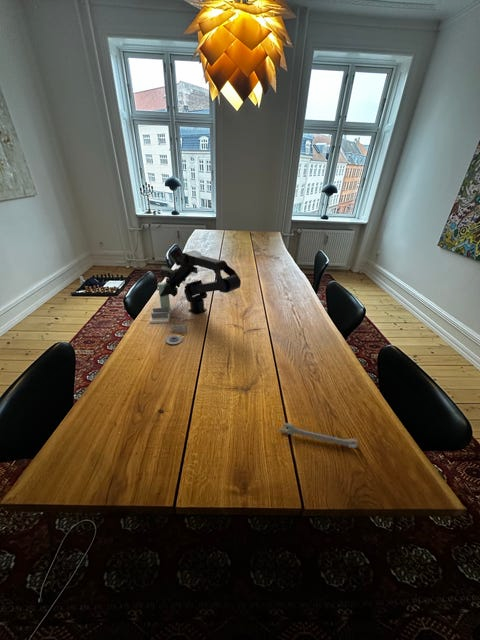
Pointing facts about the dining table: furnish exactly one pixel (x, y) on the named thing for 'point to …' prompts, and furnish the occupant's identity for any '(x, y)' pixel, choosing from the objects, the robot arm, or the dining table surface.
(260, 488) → the dining table surface
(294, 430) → the combination wrench
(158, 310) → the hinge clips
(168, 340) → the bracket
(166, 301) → the cabinet door
